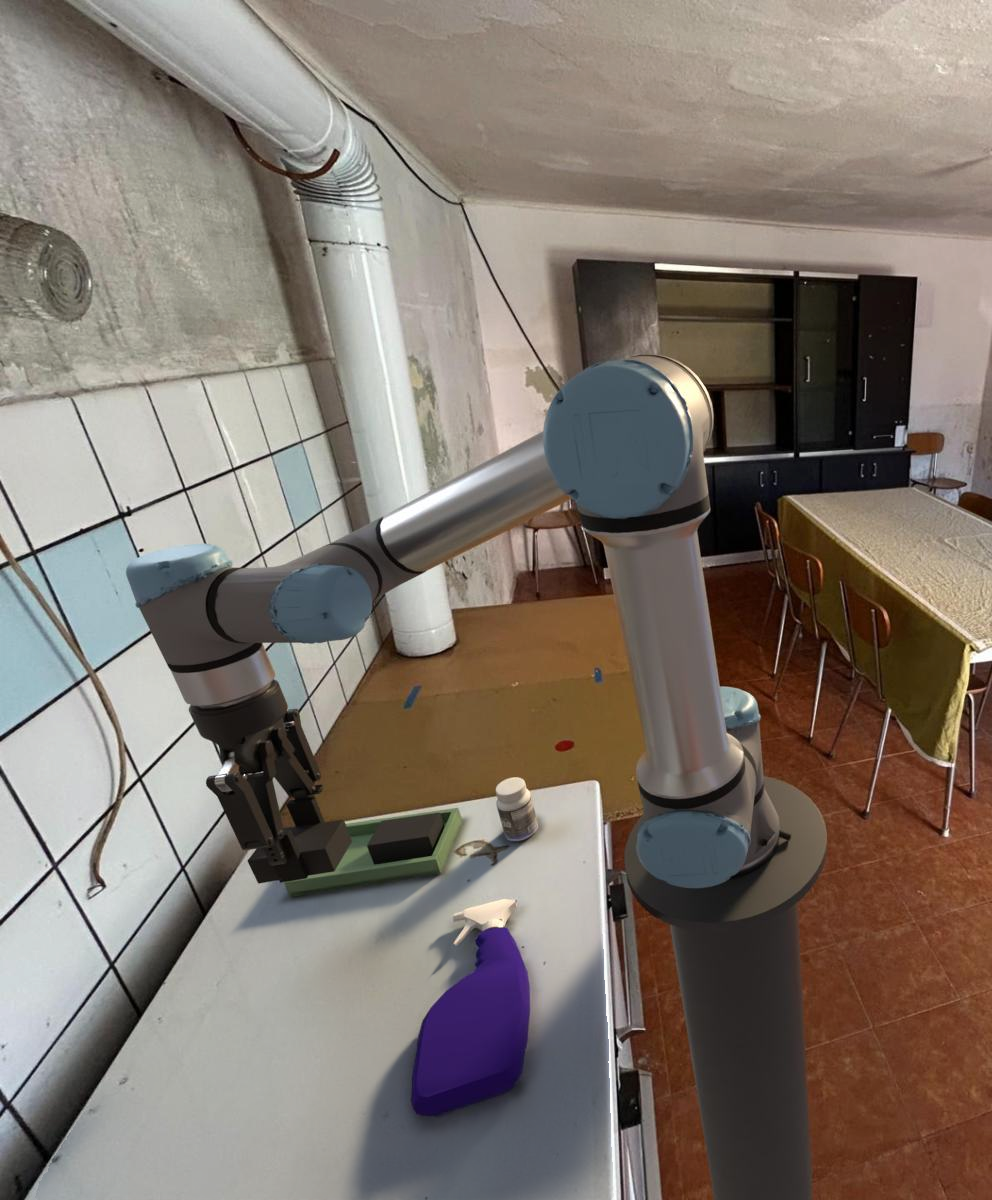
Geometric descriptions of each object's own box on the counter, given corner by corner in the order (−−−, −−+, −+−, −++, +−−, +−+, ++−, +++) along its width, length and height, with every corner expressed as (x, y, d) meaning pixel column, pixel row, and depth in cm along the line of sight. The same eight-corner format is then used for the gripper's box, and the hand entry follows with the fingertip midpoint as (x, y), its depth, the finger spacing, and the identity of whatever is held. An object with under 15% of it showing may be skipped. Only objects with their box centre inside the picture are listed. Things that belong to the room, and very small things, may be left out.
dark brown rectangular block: (352, 841, 81) (343, 819, 80) (334, 871, 76) (325, 848, 75) (280, 852, 80) (270, 829, 78) (257, 884, 75) (246, 860, 74)
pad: (445, 830, 97) (439, 812, 96) (435, 855, 93) (428, 836, 91) (388, 839, 96) (381, 820, 95) (374, 864, 92) (366, 845, 90)
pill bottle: (500, 830, 98) (487, 785, 95) (531, 815, 101) (520, 770, 98) (511, 847, 95) (499, 801, 91) (543, 830, 98) (532, 785, 94)
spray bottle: (523, 1068, 63) (532, 883, 85) (397, 1111, 60) (439, 908, 82) (529, 1087, 65) (536, 900, 86) (406, 1131, 61) (445, 925, 83)
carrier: (462, 820, 100) (458, 807, 99) (440, 873, 91) (435, 859, 90) (327, 840, 97) (321, 827, 96) (290, 897, 88) (283, 882, 87)
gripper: (242, 656, 76) (308, 813, 85) (129, 746, 60) (226, 929, 69) (313, 648, 77) (371, 804, 87) (221, 734, 61) (305, 915, 70)
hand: (307, 859), depth 78 cm, fingers closed on dark brown rectangular block, 5 cm apart
